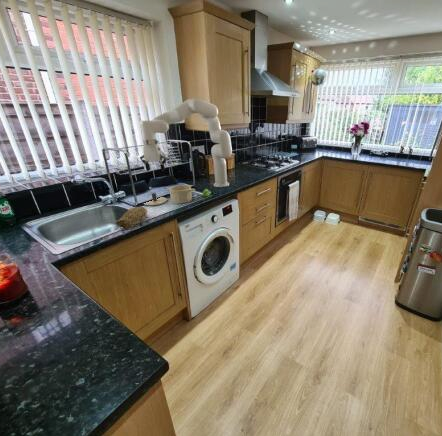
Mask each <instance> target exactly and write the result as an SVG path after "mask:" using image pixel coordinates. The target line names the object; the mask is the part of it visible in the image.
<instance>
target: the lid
mask: <svg viewBox="0 0 442 436" xmlns="http://www.w3.org/2000/svg"><path fill="white" fill-rule="evenodd" d="M157 197H158V196H157V193H156V192H152V193H151V198H152V199H153V200H152V201H149V202H146V203H143V202H142V204H143V205H145V206H157V205H162V204H165V203H166V202H167V200H168V199H167V198H166V197H164V196H159V197H160V198H158V199H157Z"/></svg>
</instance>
